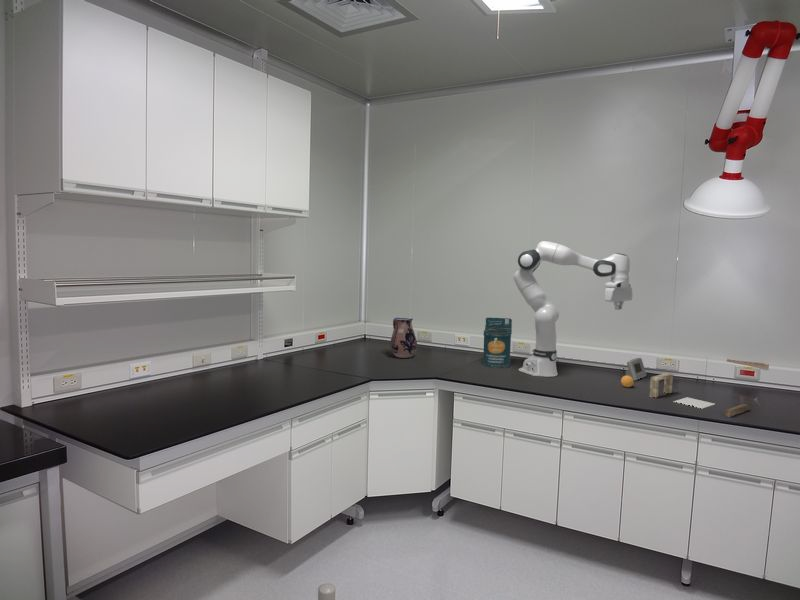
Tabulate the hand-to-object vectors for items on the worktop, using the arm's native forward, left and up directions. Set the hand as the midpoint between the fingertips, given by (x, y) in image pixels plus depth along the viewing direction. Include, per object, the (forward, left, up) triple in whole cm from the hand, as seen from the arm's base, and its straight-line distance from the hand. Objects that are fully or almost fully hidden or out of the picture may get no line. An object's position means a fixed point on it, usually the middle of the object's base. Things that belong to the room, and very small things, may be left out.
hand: (618, 309), depth 283 cm
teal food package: (-63, -26, -39) cm, 79 cm away
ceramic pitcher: (-114, -61, -39) cm, 135 cm away
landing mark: (+45, -6, -39) cm, 60 cm away
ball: (+11, -6, -36) cm, 38 cm away
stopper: (+63, -6, -39) cm, 74 cm away
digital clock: (+3, +16, -39) cm, 43 cm away
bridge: (+29, -6, -39) cm, 49 cm away
